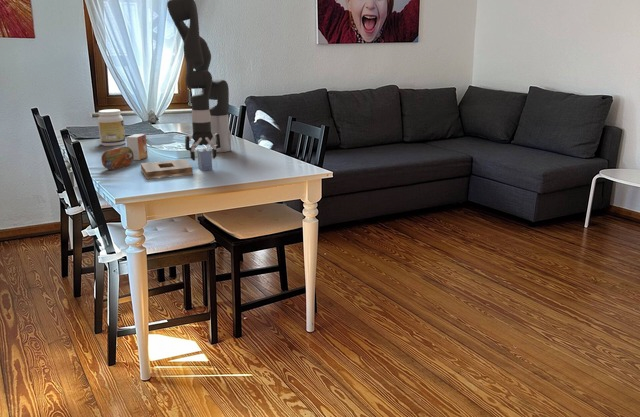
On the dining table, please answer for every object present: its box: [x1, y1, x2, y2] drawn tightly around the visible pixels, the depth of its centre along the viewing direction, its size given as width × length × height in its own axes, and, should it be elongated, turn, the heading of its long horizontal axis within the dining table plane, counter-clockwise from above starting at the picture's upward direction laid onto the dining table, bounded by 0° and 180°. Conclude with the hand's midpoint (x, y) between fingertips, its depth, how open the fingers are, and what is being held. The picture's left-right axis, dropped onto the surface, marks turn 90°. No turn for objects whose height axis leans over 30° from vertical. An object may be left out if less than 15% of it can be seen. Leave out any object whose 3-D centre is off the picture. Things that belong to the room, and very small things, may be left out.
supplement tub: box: [97, 108, 127, 147], centre depth 294 cm, size 12×12×17 cm
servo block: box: [196, 147, 213, 171], centre depth 246 cm, size 4×9×9 cm, turn 24°
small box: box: [125, 133, 148, 161], centre depth 264 cm, size 8×6×10 cm
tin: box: [101, 146, 134, 171], centre depth 249 cm, size 15×3×8 cm, turn 148°
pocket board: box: [140, 158, 194, 180], centre depth 240 cm, size 18×16×3 cm
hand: (203, 159), depth 246 cm, fingers open, 8 cm apart
